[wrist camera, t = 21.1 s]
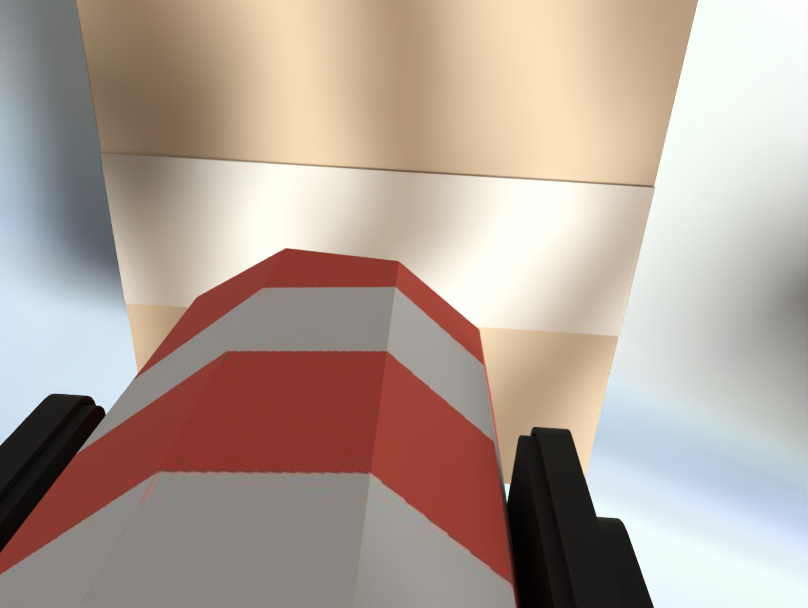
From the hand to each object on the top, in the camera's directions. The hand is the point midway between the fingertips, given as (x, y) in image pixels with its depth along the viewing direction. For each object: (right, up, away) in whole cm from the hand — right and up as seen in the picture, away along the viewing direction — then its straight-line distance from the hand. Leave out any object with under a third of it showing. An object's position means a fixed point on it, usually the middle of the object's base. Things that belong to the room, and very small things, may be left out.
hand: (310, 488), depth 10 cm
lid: (+1, +5, +10) cm, 12 cm away
